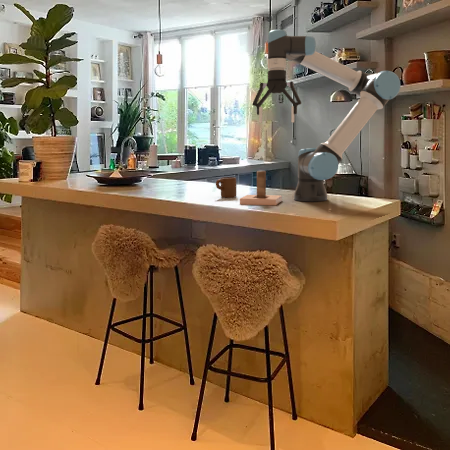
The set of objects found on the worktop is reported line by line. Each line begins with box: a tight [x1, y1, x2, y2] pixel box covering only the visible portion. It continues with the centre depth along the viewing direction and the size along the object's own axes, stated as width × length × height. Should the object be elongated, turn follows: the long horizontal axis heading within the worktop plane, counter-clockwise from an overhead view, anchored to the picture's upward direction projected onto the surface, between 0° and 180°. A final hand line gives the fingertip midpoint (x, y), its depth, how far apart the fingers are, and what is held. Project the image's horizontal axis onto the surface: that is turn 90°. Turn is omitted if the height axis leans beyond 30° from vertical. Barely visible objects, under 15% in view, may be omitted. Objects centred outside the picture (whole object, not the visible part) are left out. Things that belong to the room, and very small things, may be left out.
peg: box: [256, 170, 267, 198], centre depth 234 cm, size 4×4×14 cm
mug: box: [215, 176, 237, 199], centre depth 254 cm, size 12×8×9 cm, turn 135°
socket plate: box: [239, 194, 283, 206], centre depth 235 cm, size 14×16×2 cm
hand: (276, 122), depth 221 cm, fingers open, 13 cm apart
